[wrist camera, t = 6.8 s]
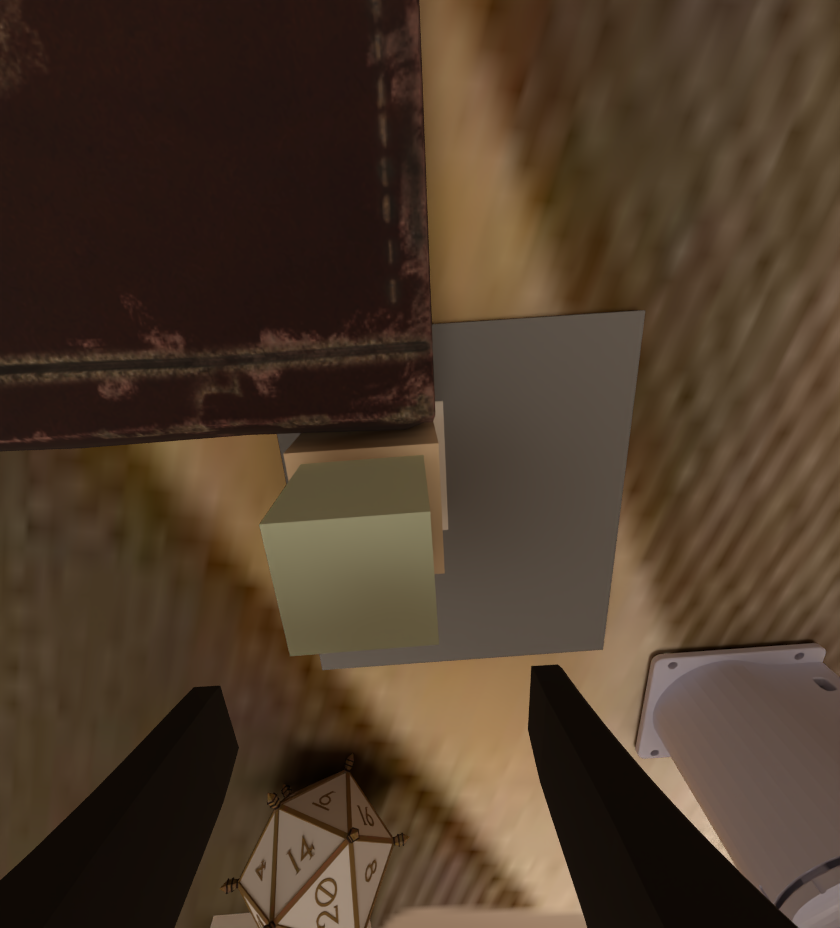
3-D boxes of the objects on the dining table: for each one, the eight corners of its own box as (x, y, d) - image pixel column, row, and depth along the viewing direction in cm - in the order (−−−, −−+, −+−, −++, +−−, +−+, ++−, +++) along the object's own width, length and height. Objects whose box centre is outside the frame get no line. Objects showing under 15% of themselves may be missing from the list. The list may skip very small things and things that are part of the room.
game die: (316, 715, 29) (206, 792, 19) (431, 754, 26) (368, 866, 17) (288, 858, 27) (155, 1017, 18) (407, 915, 25) (324, 1136, 15)
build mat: (637, 310, 16) (646, 310, 16) (598, 641, 22) (603, 651, 22) (263, 335, 16) (257, 336, 16) (324, 660, 22) (322, 671, 22)
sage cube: (423, 454, 13) (430, 511, 10) (430, 559, 15) (439, 644, 11) (300, 464, 13) (259, 524, 10) (319, 568, 15) (290, 656, 11)
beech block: (431, 413, 17) (438, 443, 13) (437, 520, 19) (444, 573, 15) (310, 421, 17) (283, 453, 13) (327, 528, 19) (308, 583, 15)
